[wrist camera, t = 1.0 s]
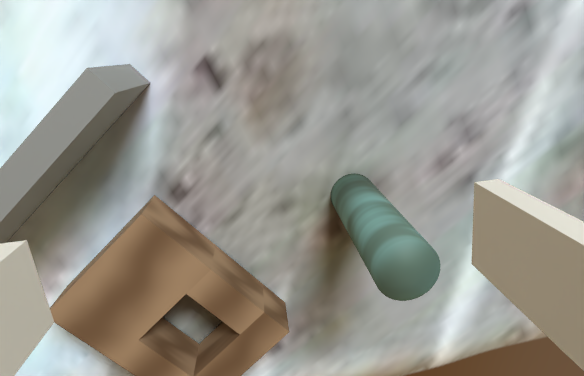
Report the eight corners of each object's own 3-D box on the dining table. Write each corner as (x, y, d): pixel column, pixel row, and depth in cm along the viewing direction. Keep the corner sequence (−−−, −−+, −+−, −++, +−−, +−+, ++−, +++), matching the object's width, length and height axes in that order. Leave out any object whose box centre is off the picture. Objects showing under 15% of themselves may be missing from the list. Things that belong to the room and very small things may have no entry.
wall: (150, 82, 33) (115, 92, 25) (-41, 294, 37) (-127, 365, 29) (130, 64, 33) (87, 68, 24) (-62, 280, 37) (-157, 349, 28)
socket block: (285, 302, 40) (289, 332, 36) (201, 379, 42) (196, 415, 38) (154, 195, 36) (141, 214, 32) (67, 285, 38) (44, 315, 33)
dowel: (383, 194, 38) (453, 269, 25) (351, 223, 39) (403, 312, 25) (354, 164, 37) (411, 226, 24) (321, 195, 38) (360, 273, 24)
